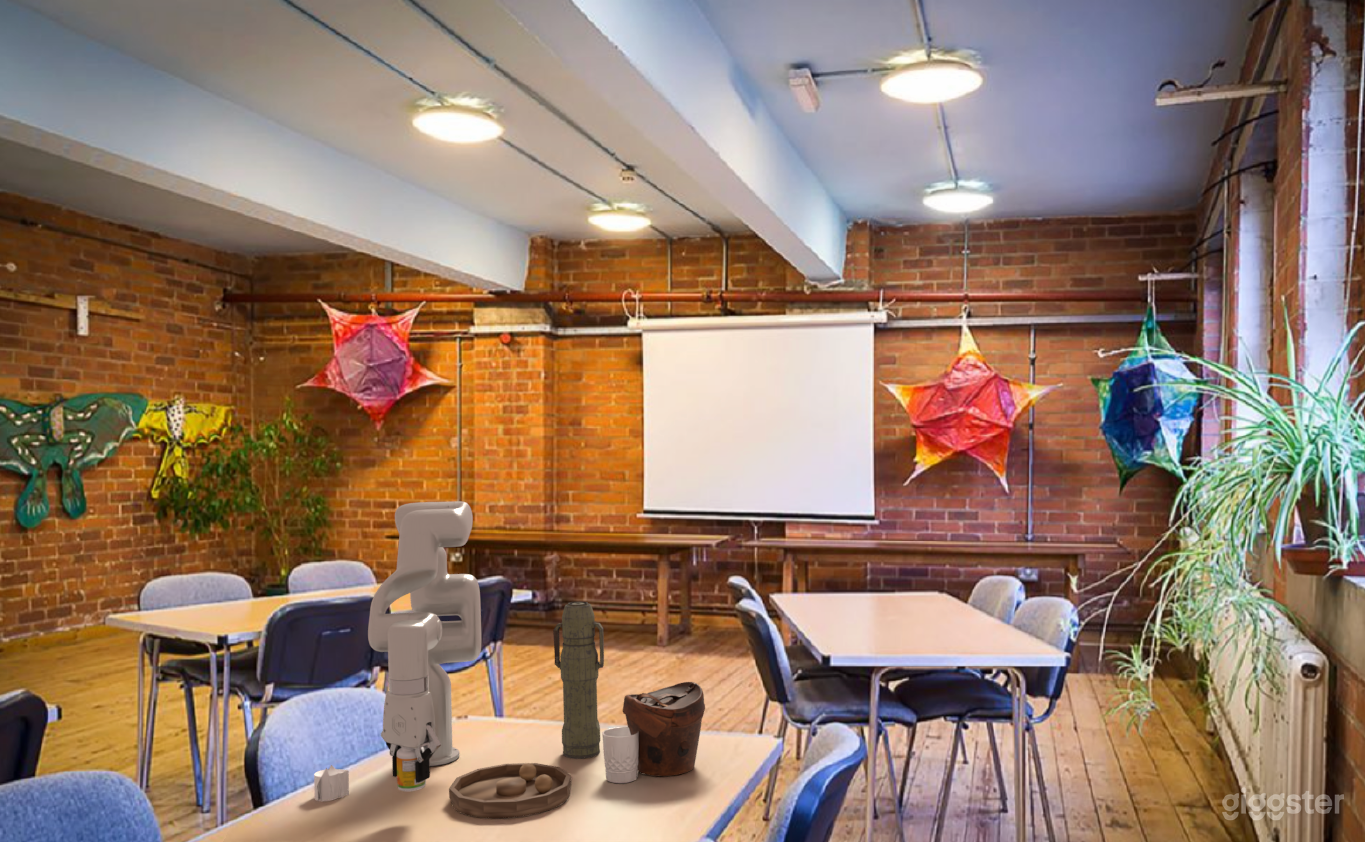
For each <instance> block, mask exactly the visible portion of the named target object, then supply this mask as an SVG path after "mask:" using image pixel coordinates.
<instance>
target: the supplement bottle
mask: <svg viewBox="0 0 1365 842" xmlns="http://www.w3.org/2000/svg"><path fill="white" fill-rule="evenodd" d="M421 749H422V753H423V752H424V748H423V747H421ZM417 761H418V759H417V756H416V752H415V749H414V748H408V747H403V746H401V748H400V749H399V750H398V751H397V777H396V781H397V782H396V784H397V785H396V786H397V789H398V790H399V791H401V792H415V791H419V790H421V789H423V788H425V787H426V785H427V784H426V783H427V779H426V780H424V781H422V782H419V783H418V782H416V774H415V762H417Z"/></svg>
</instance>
